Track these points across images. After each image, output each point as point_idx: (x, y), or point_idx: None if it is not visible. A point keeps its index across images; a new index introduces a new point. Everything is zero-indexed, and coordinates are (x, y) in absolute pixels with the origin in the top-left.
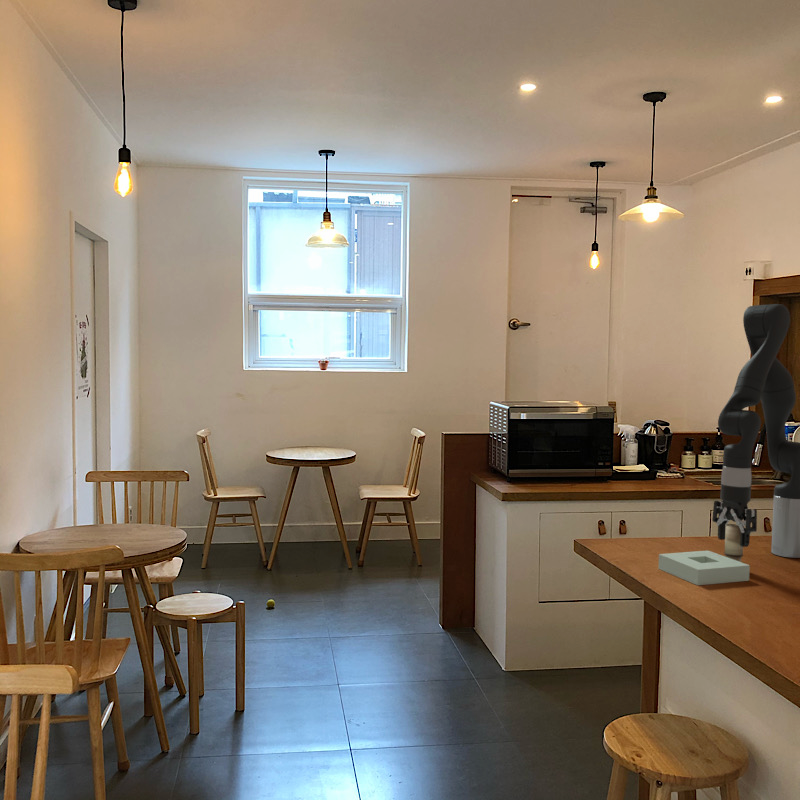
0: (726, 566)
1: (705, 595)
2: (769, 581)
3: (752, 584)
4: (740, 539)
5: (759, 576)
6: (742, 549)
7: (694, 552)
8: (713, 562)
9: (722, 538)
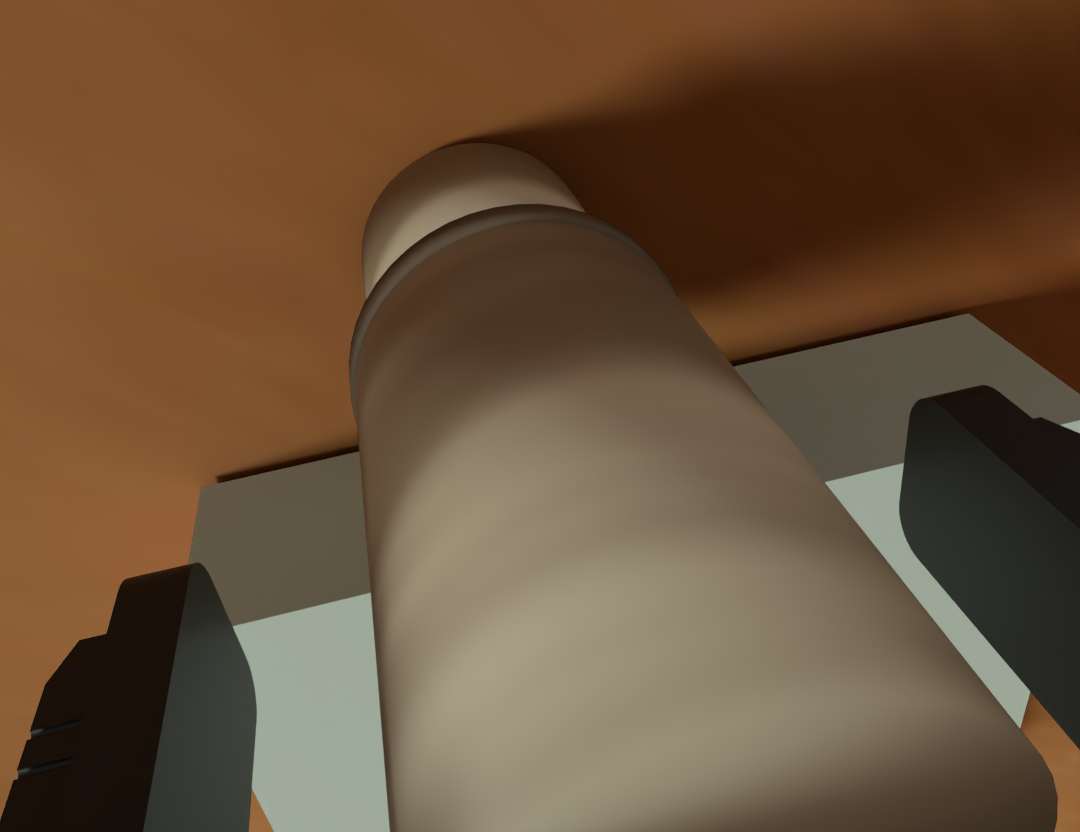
0: (1008, 678)
1: (1075, 767)
2: (1072, 36)
3: (1056, 329)
4: (998, 641)
5: (841, 26)
6: (703, 330)
7: (325, 816)
8: None
9: (234, 655)
